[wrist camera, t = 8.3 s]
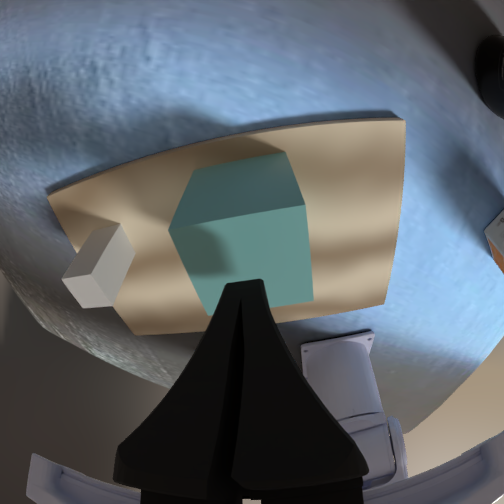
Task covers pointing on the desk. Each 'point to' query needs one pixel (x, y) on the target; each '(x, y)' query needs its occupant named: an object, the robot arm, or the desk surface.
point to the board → (317, 208)
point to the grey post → (100, 267)
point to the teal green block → (245, 230)
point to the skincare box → (496, 239)
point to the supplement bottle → (491, 72)
